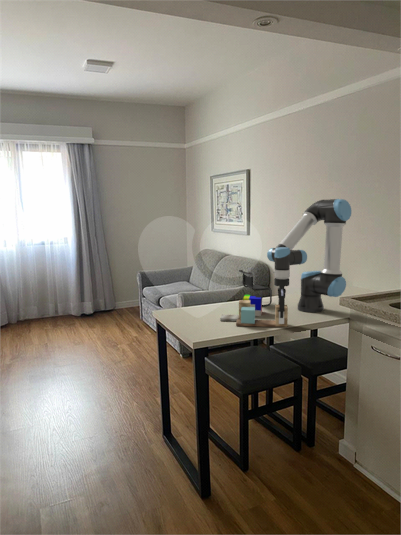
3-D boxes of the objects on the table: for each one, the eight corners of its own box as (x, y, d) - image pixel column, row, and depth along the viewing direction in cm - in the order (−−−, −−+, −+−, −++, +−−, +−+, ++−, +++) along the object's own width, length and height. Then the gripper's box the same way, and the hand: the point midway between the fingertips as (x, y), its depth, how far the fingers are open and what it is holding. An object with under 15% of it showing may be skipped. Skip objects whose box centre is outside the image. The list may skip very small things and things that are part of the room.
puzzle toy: (260, 316, 226) (261, 298, 225) (243, 315, 228) (243, 298, 227) (261, 311, 236) (261, 295, 234) (244, 311, 238) (244, 294, 236)
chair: (237, 303, 256) (237, 269, 253) (261, 301, 262) (262, 268, 259) (247, 308, 244) (247, 272, 241) (272, 305, 250) (272, 270, 247)
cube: (254, 320, 212) (255, 307, 211) (254, 323, 206) (254, 310, 205) (241, 319, 213) (241, 306, 212) (241, 323, 207) (241, 310, 206)
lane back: (250, 317, 222) (250, 299, 221) (249, 321, 214) (250, 303, 213) (221, 316, 225) (221, 299, 223) (220, 320, 217) (220, 302, 215)
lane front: (286, 322, 211) (286, 304, 209) (287, 327, 203) (287, 308, 201) (237, 321, 215) (237, 303, 213) (236, 325, 207) (236, 306, 205)
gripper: (273, 274, 214) (273, 316, 217) (274, 280, 195) (274, 326, 198) (288, 275, 212) (287, 317, 216) (290, 281, 194) (289, 327, 197)
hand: (281, 321), depth 207 cm, fingers closed on lane front, 6 cm apart
